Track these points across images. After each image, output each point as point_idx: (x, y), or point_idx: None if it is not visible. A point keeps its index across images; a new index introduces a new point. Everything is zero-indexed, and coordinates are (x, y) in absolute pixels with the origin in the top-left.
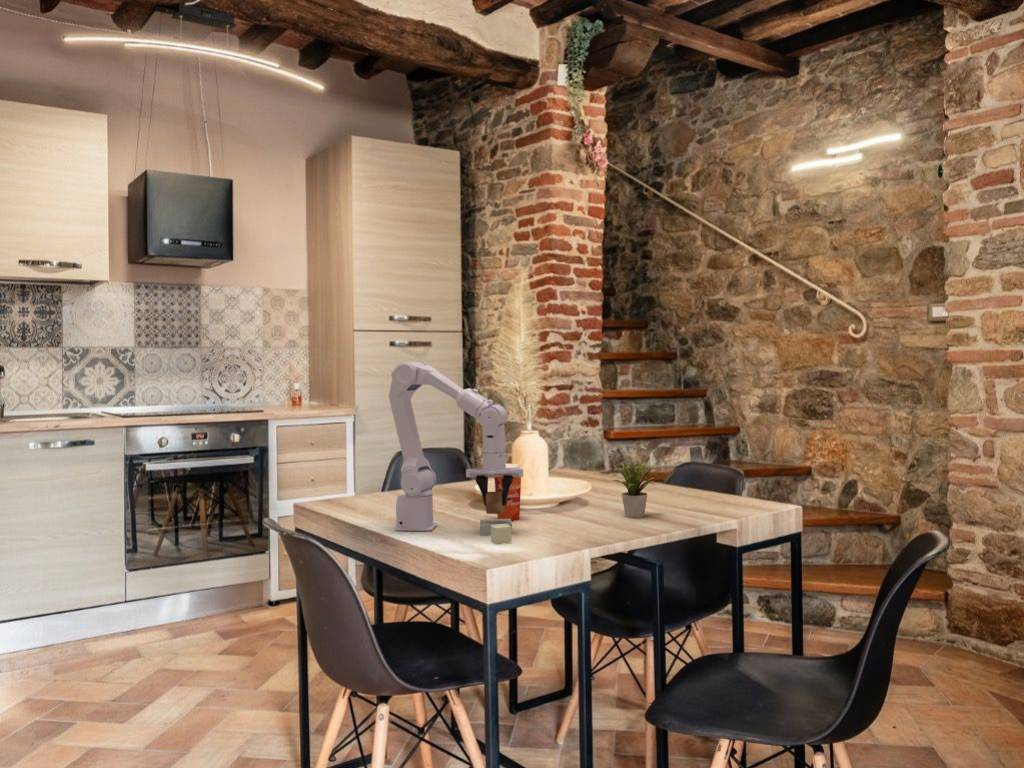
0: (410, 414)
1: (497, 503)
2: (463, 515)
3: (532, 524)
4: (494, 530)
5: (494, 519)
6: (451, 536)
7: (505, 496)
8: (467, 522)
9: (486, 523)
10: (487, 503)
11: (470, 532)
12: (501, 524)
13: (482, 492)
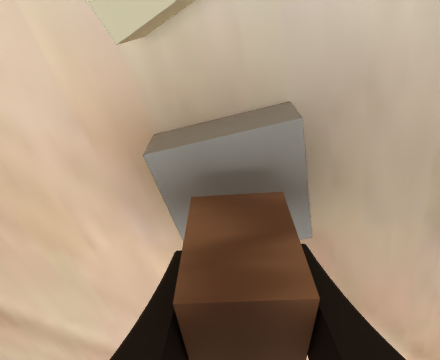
0: None
1: (213, 239)
2: None
3: (146, 279)
4: None
5: None
6: (429, 75)
7: (153, 299)
8: (350, 284)
9: (274, 169)
10: (287, 236)
11: (337, 162)
12: (139, 11)
13: (357, 322)
